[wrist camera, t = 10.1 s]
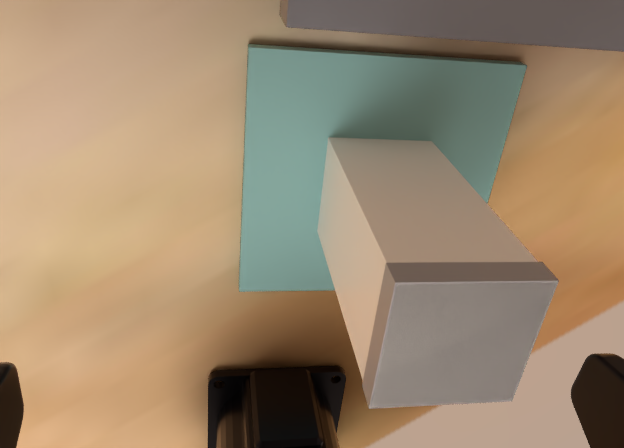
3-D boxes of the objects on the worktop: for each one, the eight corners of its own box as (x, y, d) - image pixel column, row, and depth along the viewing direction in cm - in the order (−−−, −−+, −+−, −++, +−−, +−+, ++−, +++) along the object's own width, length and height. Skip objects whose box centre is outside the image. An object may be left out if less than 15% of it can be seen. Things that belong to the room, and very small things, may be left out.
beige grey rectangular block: (413, 232, 23) (511, 401, 15) (315, 232, 22) (368, 408, 15) (433, 139, 21) (558, 280, 13) (326, 136, 20) (394, 282, 13)
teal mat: (458, 282, 25) (463, 288, 25) (238, 284, 24) (239, 291, 23) (520, 62, 20) (527, 65, 20) (248, 43, 19) (249, 47, 18)
